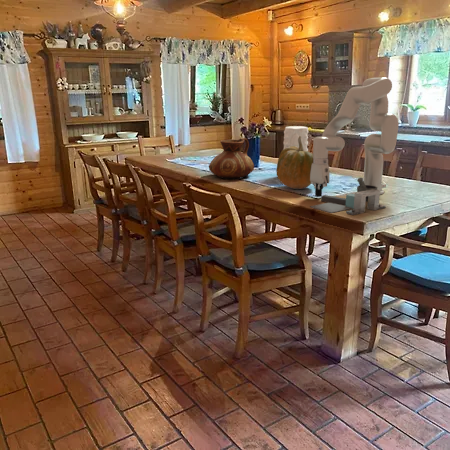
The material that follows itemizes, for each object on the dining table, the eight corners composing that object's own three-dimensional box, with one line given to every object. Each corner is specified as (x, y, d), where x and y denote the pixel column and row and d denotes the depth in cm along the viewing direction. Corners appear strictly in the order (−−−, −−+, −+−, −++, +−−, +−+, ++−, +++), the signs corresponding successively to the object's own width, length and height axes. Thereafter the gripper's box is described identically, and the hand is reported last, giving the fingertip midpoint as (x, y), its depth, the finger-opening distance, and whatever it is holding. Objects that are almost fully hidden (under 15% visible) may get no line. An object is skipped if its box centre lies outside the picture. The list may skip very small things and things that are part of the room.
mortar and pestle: (367, 197, 232) (369, 174, 229) (380, 201, 224) (382, 177, 221) (350, 199, 228) (351, 176, 224) (362, 203, 220) (364, 179, 216)
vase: (306, 173, 300) (308, 125, 291) (308, 178, 285) (310, 127, 276) (281, 173, 302) (282, 126, 293) (282, 178, 287) (283, 127, 278)
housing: (378, 206, 214) (379, 187, 211) (385, 207, 211) (386, 189, 208) (345, 213, 202) (347, 194, 200) (352, 215, 199) (354, 195, 196)
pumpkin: (302, 182, 272) (304, 133, 263) (326, 190, 249) (329, 136, 240) (268, 185, 264) (269, 134, 255) (289, 194, 241) (291, 138, 232)
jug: (235, 182, 275) (235, 142, 268) (199, 177, 292) (198, 139, 285) (262, 175, 297) (262, 137, 290) (226, 171, 315) (225, 135, 308)
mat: (330, 203, 221) (330, 202, 221) (352, 208, 210) (352, 207, 210) (309, 207, 214) (309, 206, 214) (331, 213, 203) (331, 212, 203)
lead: (324, 200, 228) (324, 194, 227) (351, 205, 217) (351, 199, 216) (321, 201, 226) (321, 195, 225) (348, 206, 215) (348, 200, 214)
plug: (351, 205, 216) (352, 193, 214) (362, 208, 211) (363, 196, 209) (345, 206, 214) (346, 194, 212) (355, 209, 208) (356, 197, 207)
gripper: (336, 162, 222) (334, 198, 227) (315, 159, 234) (313, 193, 239) (325, 163, 218) (323, 200, 223) (304, 160, 230) (303, 194, 235)
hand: (318, 196), depth 231 cm, fingers closed
